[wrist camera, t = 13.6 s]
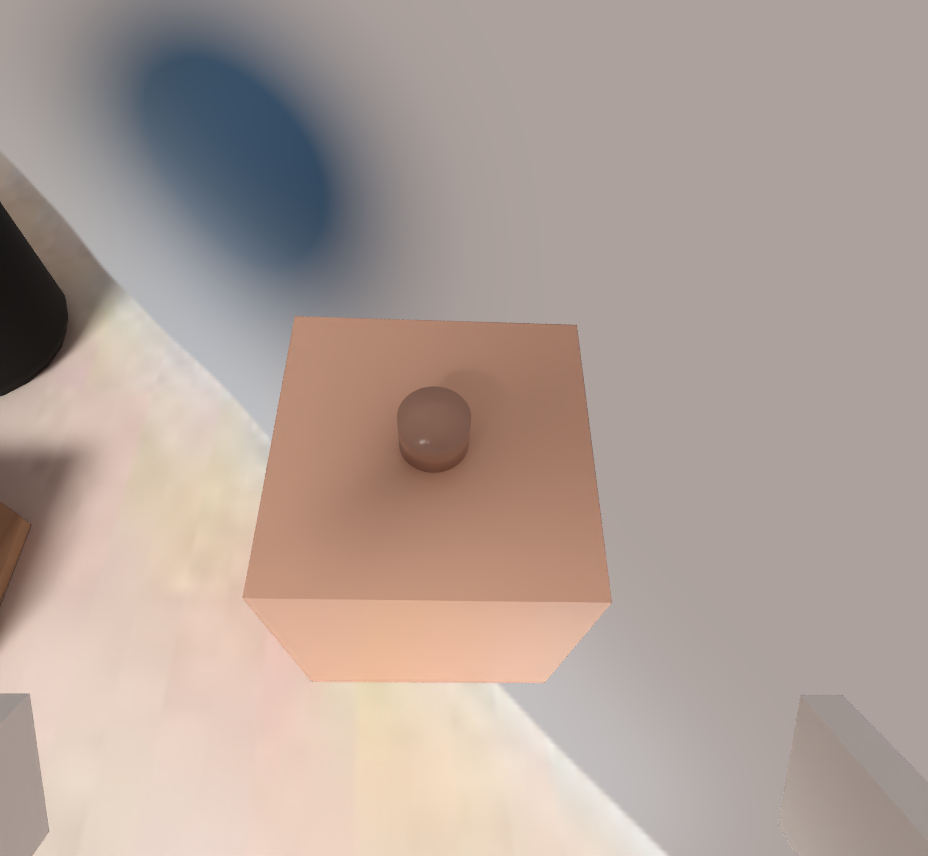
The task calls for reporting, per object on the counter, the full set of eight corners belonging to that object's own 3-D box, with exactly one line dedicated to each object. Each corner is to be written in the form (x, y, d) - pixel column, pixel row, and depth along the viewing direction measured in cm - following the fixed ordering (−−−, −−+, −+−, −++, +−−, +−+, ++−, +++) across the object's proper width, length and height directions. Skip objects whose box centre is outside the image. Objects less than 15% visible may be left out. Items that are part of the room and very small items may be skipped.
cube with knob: (311, 681, 30) (228, 580, 17) (336, 473, 35) (286, 286, 23) (544, 682, 30) (625, 586, 18) (531, 477, 36) (585, 296, 24)
